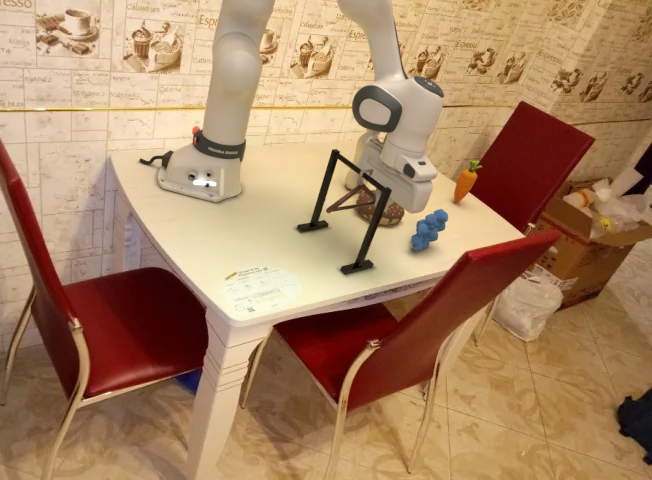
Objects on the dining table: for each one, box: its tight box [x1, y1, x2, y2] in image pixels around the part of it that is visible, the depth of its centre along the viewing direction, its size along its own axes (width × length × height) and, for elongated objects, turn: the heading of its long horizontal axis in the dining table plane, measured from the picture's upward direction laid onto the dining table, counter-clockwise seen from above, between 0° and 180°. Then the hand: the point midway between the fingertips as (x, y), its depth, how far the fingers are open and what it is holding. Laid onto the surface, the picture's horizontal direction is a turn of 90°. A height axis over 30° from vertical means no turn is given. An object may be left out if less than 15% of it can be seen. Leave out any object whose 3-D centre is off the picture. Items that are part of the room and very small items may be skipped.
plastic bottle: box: [344, 128, 381, 192], centre depth 152 cm, size 6×7×20 cm
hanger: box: [325, 169, 376, 214], centre depth 117 cm, size 17×1×10 cm, turn 125°
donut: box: [355, 189, 406, 226], centre depth 147 cm, size 14×14×5 cm
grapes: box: [410, 208, 449, 252], centre depth 135 cm, size 12×7×12 cm, turn 129°
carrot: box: [453, 160, 483, 204], centre depth 162 cm, size 5×5×15 cm
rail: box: [296, 148, 392, 276], centre depth 123 cm, size 9×20×22 cm, turn 35°
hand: (380, 209), depth 122 cm, fingers closed
